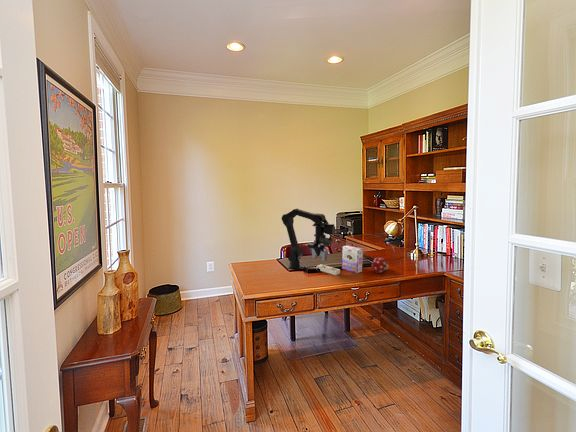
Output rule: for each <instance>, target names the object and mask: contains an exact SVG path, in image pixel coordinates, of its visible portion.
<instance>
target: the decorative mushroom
mask: <svg viewBox="0 0 576 432" xmlns="http://www.w3.org/2000/svg"><path fill="white" fill-rule="evenodd" d="M389 266H390V265H389V264H388V263H387V261H386V260H385V258H383V257H380V256H378V257H376V258H374V259H373V260H372V261H371V269H372V270H373V272H374V273H376V274H382V273H384V272H385V271H388V270H389Z"/></svg>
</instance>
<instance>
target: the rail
mask: <svg viewBox="0 0 576 432" xmlns="http://www.w3.org/2000/svg"><path fill="white" fill-rule="evenodd" d="M324 267H325V268H324ZM317 268H319V269H320V271H319V272H322V273H325V274H329V275H333V276H339V275H340V274H341V269H339V268H336V267H332V266H328V265H325V264H318V265H316V269H317Z"/></svg>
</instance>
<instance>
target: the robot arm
mask: <svg viewBox="0 0 576 432" xmlns="http://www.w3.org/2000/svg"><path fill="white" fill-rule="evenodd" d="M296 216H298V217H300V218H305V219H308V220H311V221H312V222H313V224H312V225H311V226H312V227H315V228H314V229H315V231H314V232H315V233H314V234H313V236H314V237H315V240H314V241H312V242H308V243H307V245H306V246H307V248H308V249H309V248H310V249H314V250H315V252H316V255H317V257H320V256H319V250H324V249H325V248H326V247H328V246H331V244H332V243H333V237H327V236H326V235H332V236H334V235H336V231H337V229H336V226H335V224H334V223H332V224H331V223H329V221H328V220H327V218H326V216H325V214H323V213H315V212H310V211H306V210H302V209H299V208H294V209H292V210H291V211H289V212H288V213H284V214H282V215H281V221H282V223H283V225H284V227H286V230H287V236H288V239H289V242H290V246H291V247H290V255H289V256H288V257H287V259H288V261H289V266H288V269H290V270H293V271H297V270H299V269H301V266H300V263H301V262H300V259H301V258H302V257H303V255H304V254H303V253H304V251H303V247H302V246H300V245H299V243H298V240H297V235H296V232H295V228H294V222H295V221H294V218H296ZM324 251H325V250H324Z"/></svg>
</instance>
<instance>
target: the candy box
mask: <svg viewBox="0 0 576 432" xmlns="http://www.w3.org/2000/svg"><path fill="white" fill-rule="evenodd" d="M341 249H342V250H341V269H342V270H344V271H348V272H350V273H351V272H352V273H353V274H354V273H355V274H360V273H362V272H363V257H364V255H363V254H364V253H363V252H364V248H361V247H355V246H352V245H348V244H347V245H343V246H342V248H341Z"/></svg>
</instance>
